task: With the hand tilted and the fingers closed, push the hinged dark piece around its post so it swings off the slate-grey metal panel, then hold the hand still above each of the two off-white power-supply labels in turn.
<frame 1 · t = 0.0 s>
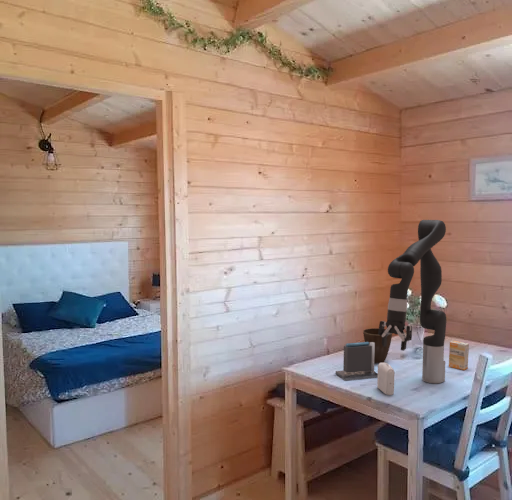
hand: (393, 348, 213), 22 cm above the table, tool pointing down, fingers open, 8 cm apart
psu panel: (357, 375, 247), on the table
photo printer: (385, 391, 226), on the table
plant pot: (377, 361, 269), on the table
supplement box: (458, 368, 258), on the table
dark piece: (359, 357, 246), point 9 cm above the table, hinge at 0.0°
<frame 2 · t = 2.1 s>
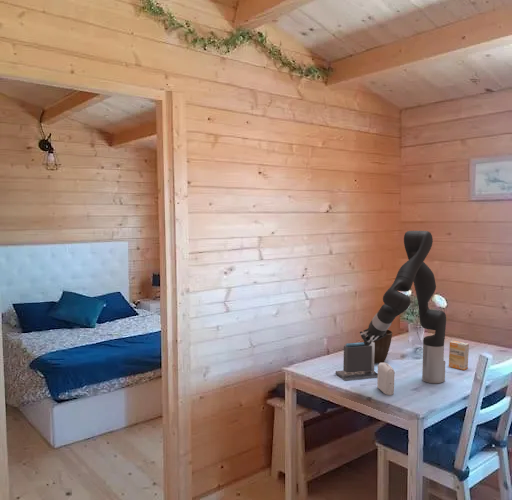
hand: (366, 344, 229), 20 cm above the table, tool tilted 45°, fingers closed
nothing on the table moved.
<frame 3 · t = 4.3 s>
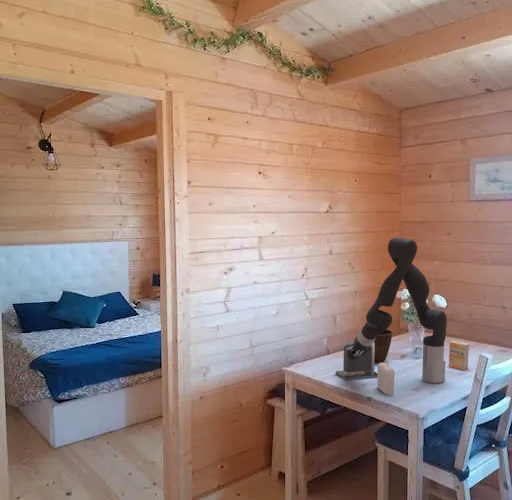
hand: (352, 357, 242), 10 cm above the table, tool tilted 45°, fingers closed
dark piece: (359, 357, 246), point 9 cm above the table, hinge at -0.1°, touching gripper
everything else where it was.
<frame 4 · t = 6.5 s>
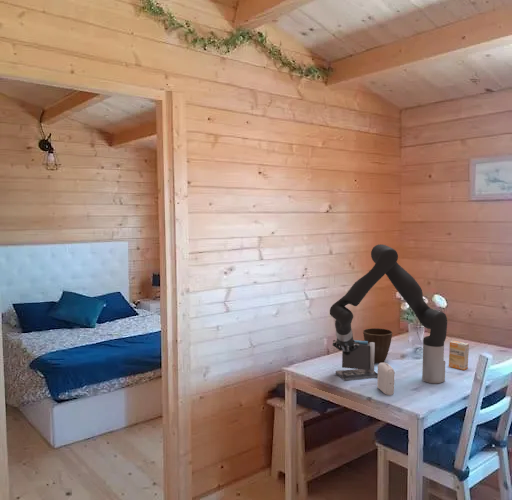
hand: (347, 353, 249), 10 cm above the table, tool tilted 45°, fingers closed
dark piece: (358, 355, 250), point 9 cm above the table, hinge at -34.1°, touching gripper
everything else where it was.
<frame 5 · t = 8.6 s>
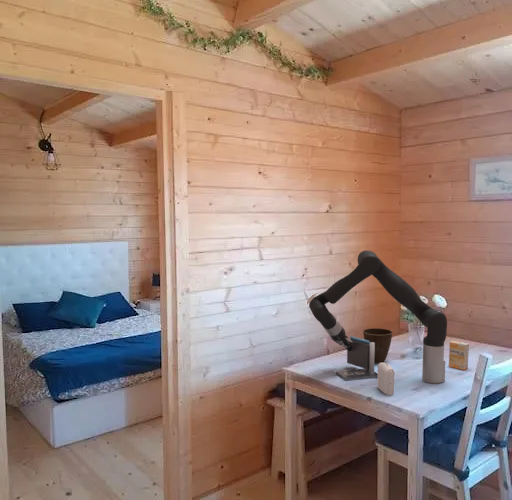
hand: (350, 349, 255), 10 cm above the table, tool tilted 45°, fingers closed
dark piece: (361, 353, 253), point 9 cm above the table, hinge at -67.7°
everything else where it was.
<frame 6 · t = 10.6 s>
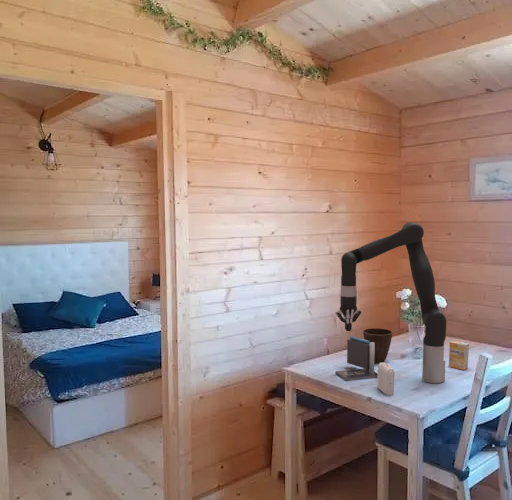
hand: (348, 330, 243), 22 cm above the table, tool pointing down, fingers closed
nothing on the table moved.
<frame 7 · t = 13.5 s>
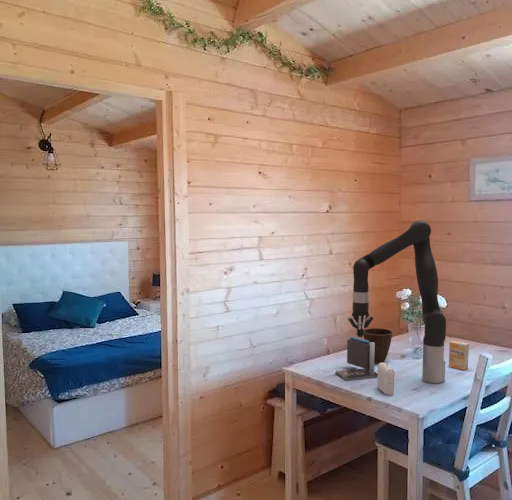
hand: (360, 336, 245), 19 cm above the table, tool pointing down, fingers closed
nothing on the table moved.
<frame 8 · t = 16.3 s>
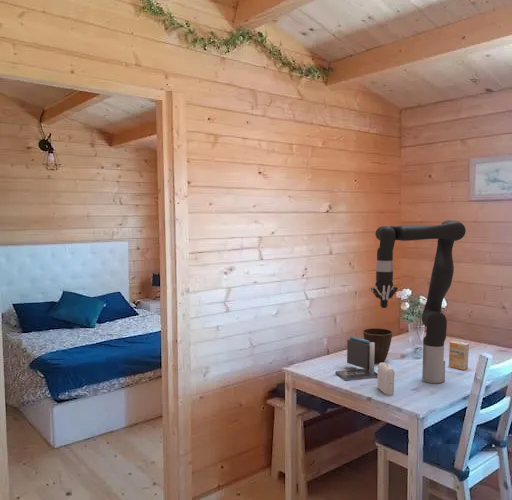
hand: (383, 307, 234), 35 cm above the table, tool pointing down, fingers closed
nothing on the table moved.
at the end: dark piece at -68° (first picture: +0°); photo printer moved 0.3 cm from its start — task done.
